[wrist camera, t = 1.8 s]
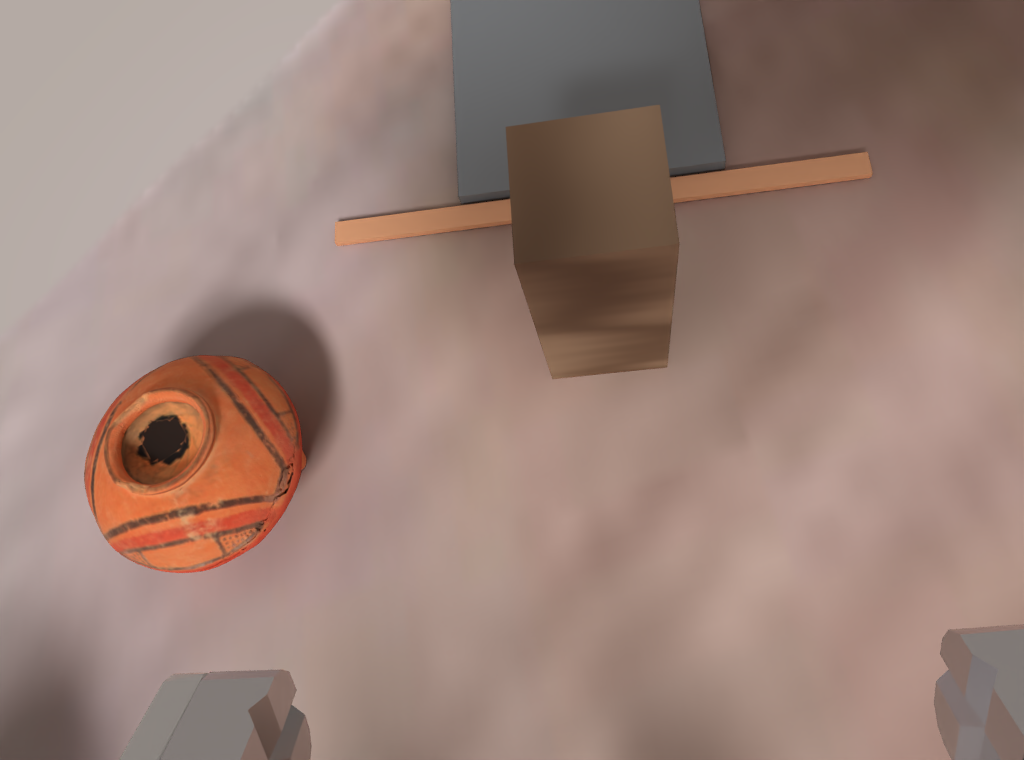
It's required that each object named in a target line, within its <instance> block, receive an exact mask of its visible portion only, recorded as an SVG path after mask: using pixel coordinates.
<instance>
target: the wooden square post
mask: <svg viewBox="0 0 1024 760" xmlns="http://www.w3.org/2000/svg"><path fill="white" fill-rule="evenodd" d="M506 142H507V157H508V173H509V188H510V204H511V219H512V235H513V250H514V264H515V267H516V270H517V273H518V276H519V279H520V282H521V285H522V288H523V291H524V294H525V297H526V300H527V303H528V306H529V309H530V313H531V316H532V319H533V322H534V325H535V328H536V331H537V334H538V337H539V340H540V343H541V346H542V349H543V352H544V355H545V358H546V361H547V364H548V367H549V370H550V373H551V376H552V379H558V378H568V377H577V376H587V375H597V374H606V373H616V372H626V371H635V370H645V369H655V368H665V367H667V363H668V353H669V343H670V333H671V323H672V313H673V303H674V293H675V283H676V273H677V263H678V253H679V238H678V231H677V223H676V216H675V209H674V202H673V195H672V188H671V181H670V174H669V167H668V159H667V152H666V145H665V138H664V131H663V124H662V117H661V110H660V105H653V106H646V107H640V108H633V109H626V110H619V111H612V112H605V113H598V114H591V115H584V116H577V117H570V118H563V119H556V120H549V121H543V122H536V123H529V124H522V125H515V126H508V127H506Z"/></svg>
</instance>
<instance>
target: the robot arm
mask: <svg viewBox="0 0 1024 760" xmlns="http://www.w3.org/2000/svg"><path fill="white" fill-rule="evenodd" d="M940 655H941V657H942V658H943V660H944V662H945V664H946V665H947V667H948V669H949V670H948V671H947V672H946V673H944V674H943V675H942V676H941V677H940V678H939V679H938V680H937V681H936V687H935V697H934V706H935V712H936V719H937V725H938V728H939V731H940V734H941V737H942V740H943V743H944V745H945V747H946V749H947V751H948V753H949V755H950V757H951V759H952V760H1024V624H1022V625H1008V626H993V627H979V628H964V629H950V630H948V631H947V632H946V634H945V635H944V637H943V639H942V645H941V651H940ZM295 693H296V687H295V685H294V682H293V680H292V677H291V675H290V672H288V671H285V670H257V671H226V672H210V673H187V674H173V675H172V676H171V677H169V678H168V679H167V680H166V681H164V682H163V684H162V685H161V687H160V689H159V691H158V692H157V694H156V696H155V698H154V699H153V701H152V703H151V705H150V706H149V708H148V710H147V712H146V713H145V715H144V717H143V719H142V720H141V722H140V724H139V726H138V727H137V729H136V731H135V733H134V734H133V736H132V738H131V740H130V742H129V743H128V745H127V747H126V749H125V750H124V752H123V754H122V756H121V757H120V759H119V760H310V757H311V738H310V729H309V726H308V723H307V720H306V716H305V715H304V714H303V713H302V712H300V711H299V710H298V709H297V708H295V707H294V706H293V705H291V704H292V702H293V699H294V696H295Z"/></svg>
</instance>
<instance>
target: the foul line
mask: <svg viewBox="0 0 1024 760" xmlns="http://www.w3.org/2000/svg"><path fill="white" fill-rule="evenodd" d="M872 174H873V173H872V168H871V164H870V160H869V156H868V152H862V153H854V154H847V155H839V156H832V157H824V158H817V159H809V160H801V161H794V162H786V163H779V164H771V165H764V166H756V167H748V168H741V169H733V170H726V171H718V172H711V173H703V174H696V175H688V176H680V177H673V178H670V181H671V188H672V195H673V202H674V203H677V202H685V201H693V200H700V199H708V198H716V197H724V196H732V195H739V194H747V193H755V192H763V191H771V190H778V189H786V188H794V187H802V186H810V185H817V184H825V183H833V182H841V181H849V180H856V179H864V178H871V176H872ZM506 224H512V219H511V204H510V199H506V200H499V201H491V202H484V203H476V204H469V205H461V206H454V207H446V208H438V209H431V210H423V211H416V212H408V213H401V214H393V215H385V216H378V217H370V218H363V219H355V220H348V221H340V222H335V243H336V245H337V246H342V245H350V244H357V243H365V242H373V241H381V240H389V239H396V238H404V237H412V236H420V235H428V234H435V233H443V232H451V231H459V230H467V229H474V228H482V227H490V226H498V225H506Z"/></svg>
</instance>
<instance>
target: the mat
mask: <svg viewBox="0 0 1024 760" xmlns="http://www.w3.org/2000/svg"><path fill="white" fill-rule="evenodd" d="M451 25H452V50H453V74H454V99H455V123H456V148H457V173H458V197H459V199H460V202H461V204H466V203H474V202H481V201H489V200H496V199H504V198H510V188H509V173H508V157H507V142H506V127H508V126H515V125H522V124H529V123H536V122H543V121H549V120H556V119H563V118H570V117H577V116H584V115H591V114H598V113H605V112H612V111H619V110H626V109H633V108H640V107H646V106H653V105H660V110H661V117H662V124H663V131H664V138H665V145H666V152H667V159H668V167H669V174H670V176H678V175H685V174H693V173H700V172H708V171H715V170H723V169H725V163H726V159H725V153H724V147H723V141H722V135H721V129H720V123H719V117H718V111H717V105H716V99H715V93H714V87H713V82H712V76H711V70H710V64H709V58H708V52H707V46H706V40H705V34H704V28H703V22H702V16H701V10H700V4H699V0H451Z"/></svg>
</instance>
